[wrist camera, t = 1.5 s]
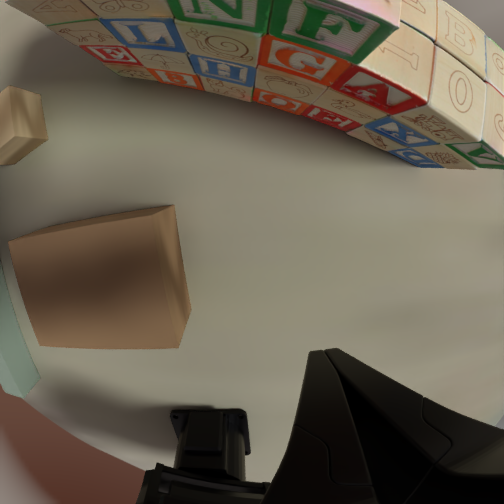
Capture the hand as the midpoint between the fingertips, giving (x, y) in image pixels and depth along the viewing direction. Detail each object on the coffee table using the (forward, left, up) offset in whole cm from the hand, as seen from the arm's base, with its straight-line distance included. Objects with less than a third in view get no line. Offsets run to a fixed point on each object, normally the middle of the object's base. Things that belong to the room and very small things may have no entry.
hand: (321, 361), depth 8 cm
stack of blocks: (+12, -1, -11) cm, 17 cm away
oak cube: (+11, +18, -11) cm, 24 cm away
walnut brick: (0, +11, -11) cm, 16 cm away
